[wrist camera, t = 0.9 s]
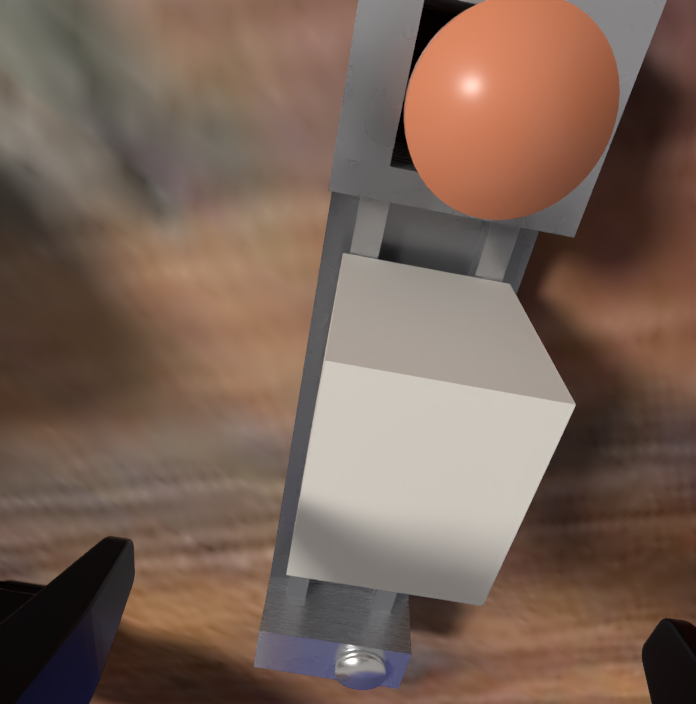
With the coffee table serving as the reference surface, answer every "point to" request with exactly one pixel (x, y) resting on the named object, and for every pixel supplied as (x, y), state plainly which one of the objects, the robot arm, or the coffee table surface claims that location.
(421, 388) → the carriage
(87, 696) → the robot arm
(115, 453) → the coffee table surface
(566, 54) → the button
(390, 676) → the rail
